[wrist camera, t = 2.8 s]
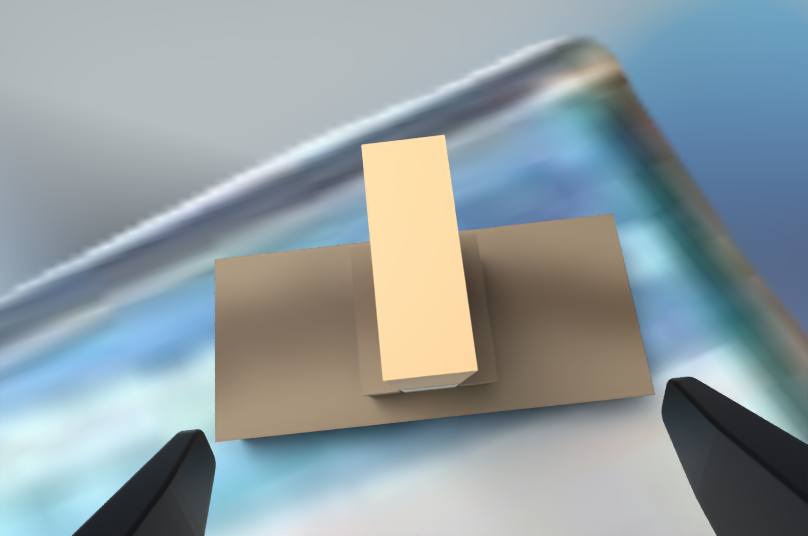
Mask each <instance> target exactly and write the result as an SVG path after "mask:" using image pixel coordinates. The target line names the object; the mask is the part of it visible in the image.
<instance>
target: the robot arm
mask: <svg viewBox="0 0 808 536" xmlns="http://www.w3.org/2000/svg"><path fill="white" fill-rule="evenodd" d="M661 411H662V419H663V422H664V424H665V427H666V429H667V431H668V434H669V436H670V438H671V441H672V443H673V446H674V448H675V450H676V453H677V455H678V457H679V460H680V462H681V464H682V467H683V469H684V471H685V474H686V476H687V478H688V481H689V483H690V485H691V488H692V490H693V492H694V494H695V496H696V498H697V500H698V502H699V504H700V506H701V508H702V510H703V512H704V513H705V515H706V517H707V519H708V521H709V523H710V524H711V526H712V528H713V530H714V532H715V533H716V535H717V536H808V445H807V444H806V443H804V442H802V441H801V440H799V439H797V438H795V437H794V436H792V435H790V434H789V433H787V432H785V431H784V430H782V429H780V428H779V427H777V426H775V425H773V424H772V423H770V422H768V421H767V420H765V419H763V418H762V417H760V416H758V415H757V414H755V413H753V412H751V411H750V410H748V409H746V408H745V407H743V406H741V405H740V404H738V403H736V402H735V401H733V400H731V399H729V398H728V397H726V396H724V395H723V394H721V393H719V392H718V391H716V390H714V389H713V388H711V387H709V386H707V385H706V384H704V383H702V382H701V381H699V380H697V379H695V378H693V377H680V378H672V379H670V380H669V381H668V382H667V385H666V390H665V394H664V399H663V404H662V410H661ZM215 468H216V462H215V457H214V454H213V452H212V450H211V447H210V445H209V443H208V441H207V438H206V436H205V434H204V432H203V431H202V430H199V429H196V430H186V431H181V432H179V433H177V434H176V435H175V436H174V437H173V438H172V439H171V440H170V441H169V442H168V443H167V444H166V445H165V446H164V447H163V448H161V449H160V450H159V451H158V452H157V453H156V454H155V455H154V456H153V457H152V458H151V459H150V460H149V461H148V462H147V463H146V464H145V465H144V466H143V467H142V468H141V469H140V470H139V471H138V472H137V473H136V474H135V475H134V476H133V477H132V478H131V479H130V480H129V481H127V482H126V483H125V484H124V485H123V486H122V487H121V488H120V489H119V490H118V491H117V492H116V493H115V494H114V495H113V496H112V497H111V498H110V499H109V500H108V501H107V502H106V503H105V504H104V505H103V506H102V507H101V508H100V509H99V510H98V511H97V512H96V513H94V514H93V515H92V516H91V517H90V518H89V519H88V520H87V521H86V522H85V523H84V524H83V525H82V526H81V527H80V528H79V529H78V530H77V531H76V532H75V533H74V534H73V535H72V536H204V535H205V529H206V523H207V517H208V511H209V505H210V499H211V493H212V487H213V481H214V475H215Z"/></svg>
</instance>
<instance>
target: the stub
mask: <svg viewBox="0 0 808 536" xmlns="http://www.w3.org/2000/svg"><path fill="white" fill-rule="evenodd" d="M362 156H363V167H364V178H365V189H366V200H367V211H368V222H369V233H370V244H371V255H372V266H373V277H374V288H375V299H376V311H377V322H378V333H379V344H380V355H381V366H382V377H383V381H384V382H386V383H388V384H390V385H392V386H393V387H395V388H397V389H398V390H408V389H417V388H426V387H436V386H445V385H454V384H461V383H462V382H463V381H464V380H465V379H467V378H468V377H470V376H471V375H472V374H474V373H475V372H476V371H478V368H477V361H476V354H475V347H474V340H473V333H472V326H471V319H470V312H469V305H468V298H467V290H466V283H465V276H464V269H463V262H462V255H461V248H460V241H459V234H458V227H457V220H456V213H455V206H454V198H453V191H452V184H451V177H450V170H449V163H448V156H447V149H446V142H445V135H440V136H432V137H423V138H415V139H407V140H398V141H390V142H381V143H373V144H364V145H362Z"/></svg>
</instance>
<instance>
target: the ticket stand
mask: <svg viewBox="0 0 808 536" xmlns="http://www.w3.org/2000/svg"><path fill="white" fill-rule="evenodd" d="M458 234H459V241H460V248H461V255H462V262H463V269H464V276H465V283H466V290H467V298H468V305H469V312H470V319H471V326H472V333H473V340H474V347H475V354H476V361H477V368H478V371H476V372H475V373H474V374H472V375H471V376H470V377H468V378H467V379H465V380H464V381H463V382H462V383H461V384H454V385H445V386H436V387H426V388H417V389H408V390H398V389H397V388H395V387H393V386H392V385H390V384H388V383H386V382H384V381H383V377H382V366H381V355H380V344H379V333H378V322H377V311H376V299H375V288H374V277H373V266H372V255H371V244H370V242H362V243H353V244H344V245H336V246H327V247H318V248H309V249H301V250H292V251H283V252H275V253H266V254H257V255H248V256H240V257H231V258H222V259H215V442H220V441H229V440H239V439H248V438H257V437H267V436H276V435H285V434H295V433H304V432H313V431H322V430H332V429H341V428H350V427H360V426H369V425H378V424H388V423H397V422H406V421H415V420H425V419H434V418H443V417H453V416H462V415H471V414H481V413H490V412H499V411H508V410H518V409H527V408H536V407H546V406H555V405H564V404H574V403H583V402H592V401H602V400H611V399H620V398H629V397H639V396H648V395H655V393H654V389H653V385H652V380H651V376H650V372H649V367H648V363H647V359H646V354H645V350H644V346H643V341H642V337H641V333H640V329H639V324H638V320H637V316H636V311H635V307H634V303H633V298H632V294H631V290H630V285H629V281H628V277H627V273H626V268H625V264H624V260H623V255H622V251H621V247H620V242H619V238H618V234H617V229H616V225H615V221H614V217H613V214H606V215H597V216H588V217H579V218H571V219H562V220H553V221H545V222H536V223H527V224H518V225H510V226H501V227H492V228H484V229H475V230H466V231H458Z"/></svg>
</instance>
